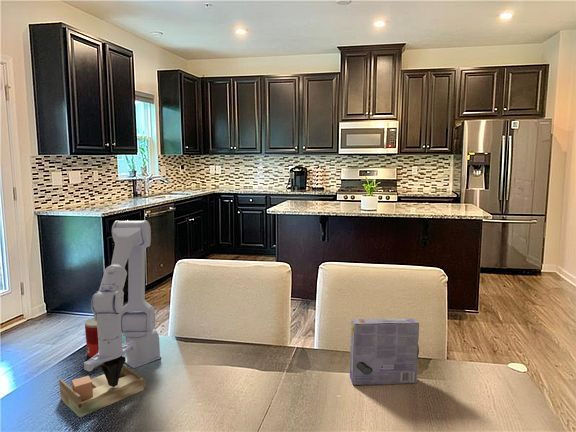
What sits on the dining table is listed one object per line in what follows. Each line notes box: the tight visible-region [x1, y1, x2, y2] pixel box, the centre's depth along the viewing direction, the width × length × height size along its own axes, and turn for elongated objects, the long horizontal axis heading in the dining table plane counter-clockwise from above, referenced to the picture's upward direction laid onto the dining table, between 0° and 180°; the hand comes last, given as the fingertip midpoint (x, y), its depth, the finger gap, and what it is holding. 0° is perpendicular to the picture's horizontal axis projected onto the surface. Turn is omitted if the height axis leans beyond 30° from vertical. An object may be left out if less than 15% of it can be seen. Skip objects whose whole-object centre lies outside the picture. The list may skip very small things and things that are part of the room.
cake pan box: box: [349, 317, 420, 386], centre depth 122 cm, size 19×5×18 cm, turn 94°
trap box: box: [58, 364, 147, 418], centre depth 117 cm, size 18×12×5 cm
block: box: [71, 375, 93, 400], centre depth 112 cm, size 4×4×4 cm
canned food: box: [84, 317, 99, 359], centre depth 141 cm, size 8×8×11 cm
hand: (113, 384), depth 116 cm, fingers closed
